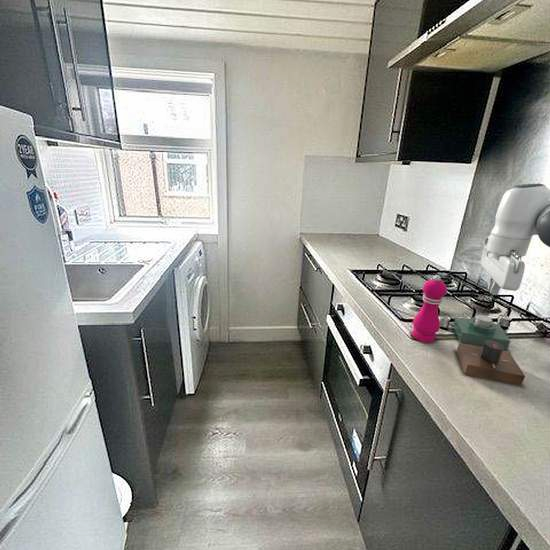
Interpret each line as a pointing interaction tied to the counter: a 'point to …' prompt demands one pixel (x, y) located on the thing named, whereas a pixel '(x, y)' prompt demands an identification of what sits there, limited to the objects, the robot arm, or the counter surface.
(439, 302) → the pepper mill
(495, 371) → the lock base
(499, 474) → the counter surface
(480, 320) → the pump
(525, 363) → the counter surface
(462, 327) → the dispenser
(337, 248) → the counter surface
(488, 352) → the lock dial
